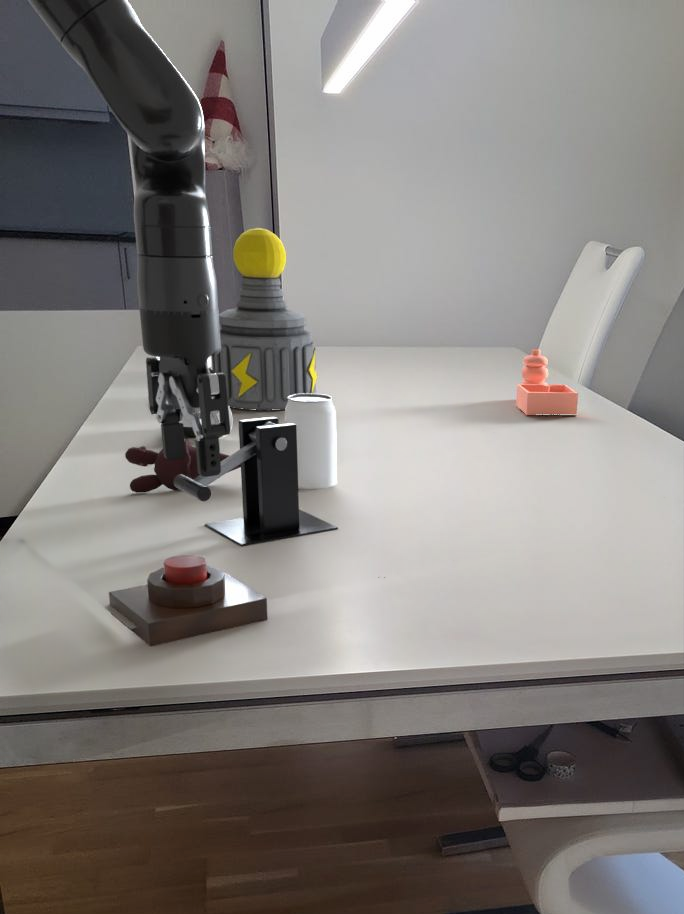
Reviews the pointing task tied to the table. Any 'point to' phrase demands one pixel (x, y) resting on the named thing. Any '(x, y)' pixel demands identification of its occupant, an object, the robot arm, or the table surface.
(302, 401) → the can
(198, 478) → the switch lever
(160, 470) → the icecream
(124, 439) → the table surface
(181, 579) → the button
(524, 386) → the pottery
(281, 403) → the decorative lamp
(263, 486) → the switch bracket
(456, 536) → the table surface
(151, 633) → the button block
